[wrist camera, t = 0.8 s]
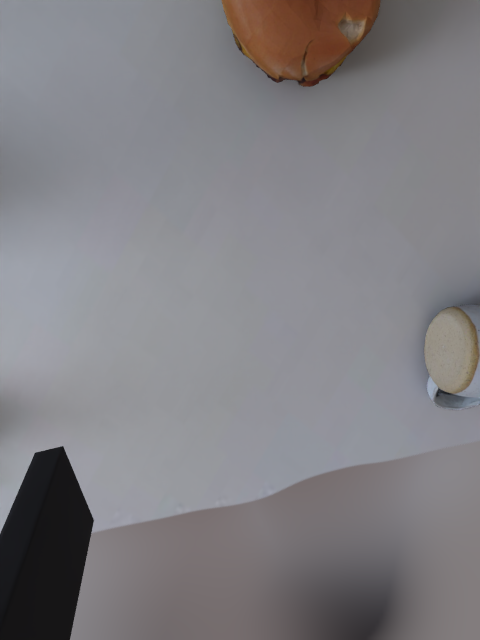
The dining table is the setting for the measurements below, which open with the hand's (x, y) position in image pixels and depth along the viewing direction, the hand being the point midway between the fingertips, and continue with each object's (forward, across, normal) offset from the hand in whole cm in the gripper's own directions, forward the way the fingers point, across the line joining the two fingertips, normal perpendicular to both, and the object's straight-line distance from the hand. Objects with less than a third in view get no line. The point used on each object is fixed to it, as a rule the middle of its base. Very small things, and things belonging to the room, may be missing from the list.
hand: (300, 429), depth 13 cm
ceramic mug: (+23, +19, -13) cm, 33 cm away
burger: (+23, +8, +15) cm, 28 cm away
